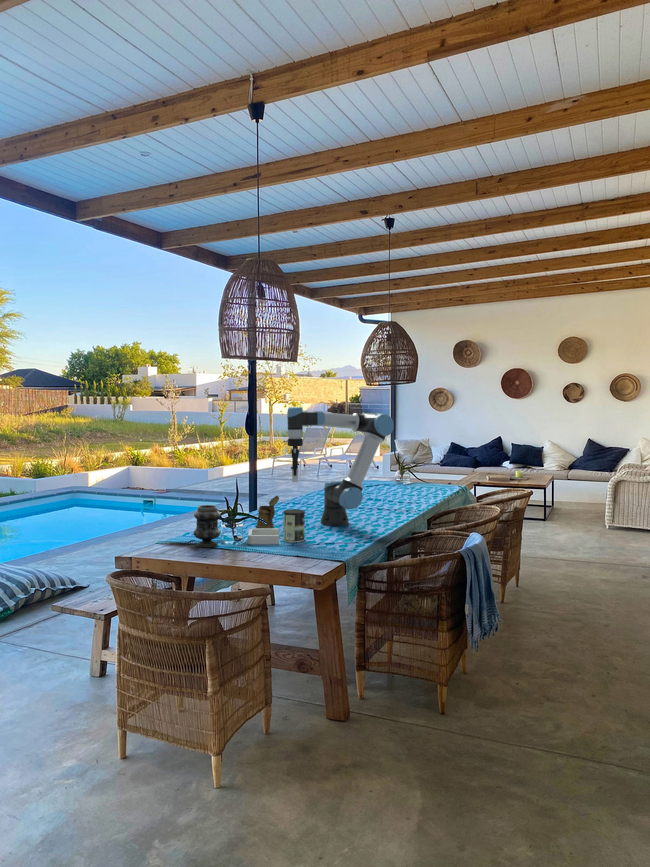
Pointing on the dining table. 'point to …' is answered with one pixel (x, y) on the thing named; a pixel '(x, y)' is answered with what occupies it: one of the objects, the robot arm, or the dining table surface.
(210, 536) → the stone vase
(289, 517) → the coffee can
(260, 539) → the tray
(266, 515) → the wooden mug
